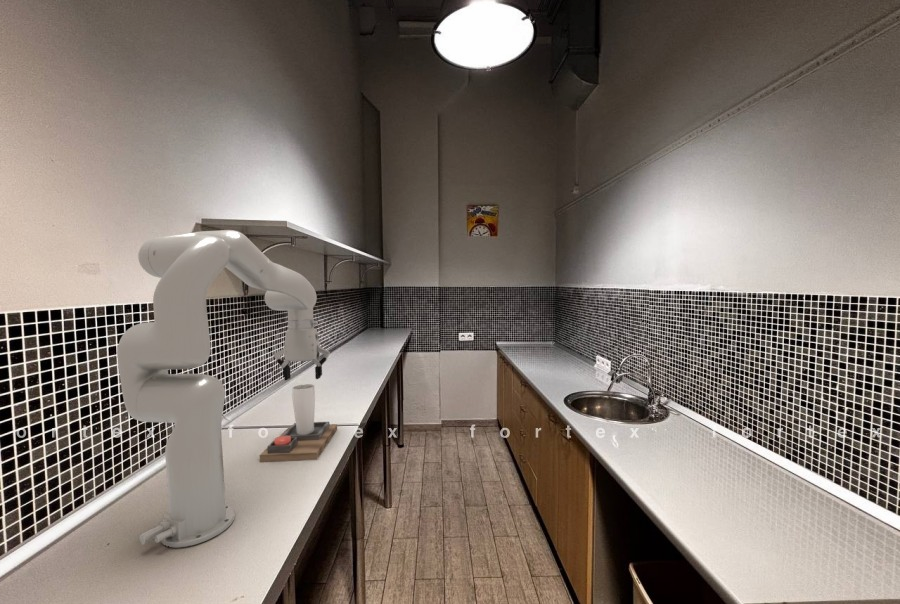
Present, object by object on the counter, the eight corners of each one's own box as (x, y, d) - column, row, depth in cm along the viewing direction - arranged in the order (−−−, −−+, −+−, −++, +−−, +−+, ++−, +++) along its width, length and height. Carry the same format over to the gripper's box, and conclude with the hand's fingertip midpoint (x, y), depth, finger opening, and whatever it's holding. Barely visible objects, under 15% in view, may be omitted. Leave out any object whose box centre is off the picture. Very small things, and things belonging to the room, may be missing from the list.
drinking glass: (300, 438, 116) (297, 390, 116) (290, 433, 121) (288, 387, 120) (320, 432, 121) (318, 386, 121) (310, 427, 126) (308, 382, 125)
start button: (287, 449, 108) (287, 441, 108) (272, 450, 108) (271, 441, 108) (293, 442, 112) (293, 435, 112) (278, 443, 112) (278, 435, 112)
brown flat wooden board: (317, 459, 107) (316, 445, 106) (259, 462, 106) (258, 448, 106) (337, 430, 128) (336, 418, 128) (289, 432, 128) (289, 420, 128)
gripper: (331, 323, 124) (333, 375, 124) (278, 325, 123) (280, 377, 123) (325, 325, 116) (326, 380, 116) (268, 327, 116) (270, 382, 116)
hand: (302, 378), depth 120 cm, fingers open, 9 cm apart
